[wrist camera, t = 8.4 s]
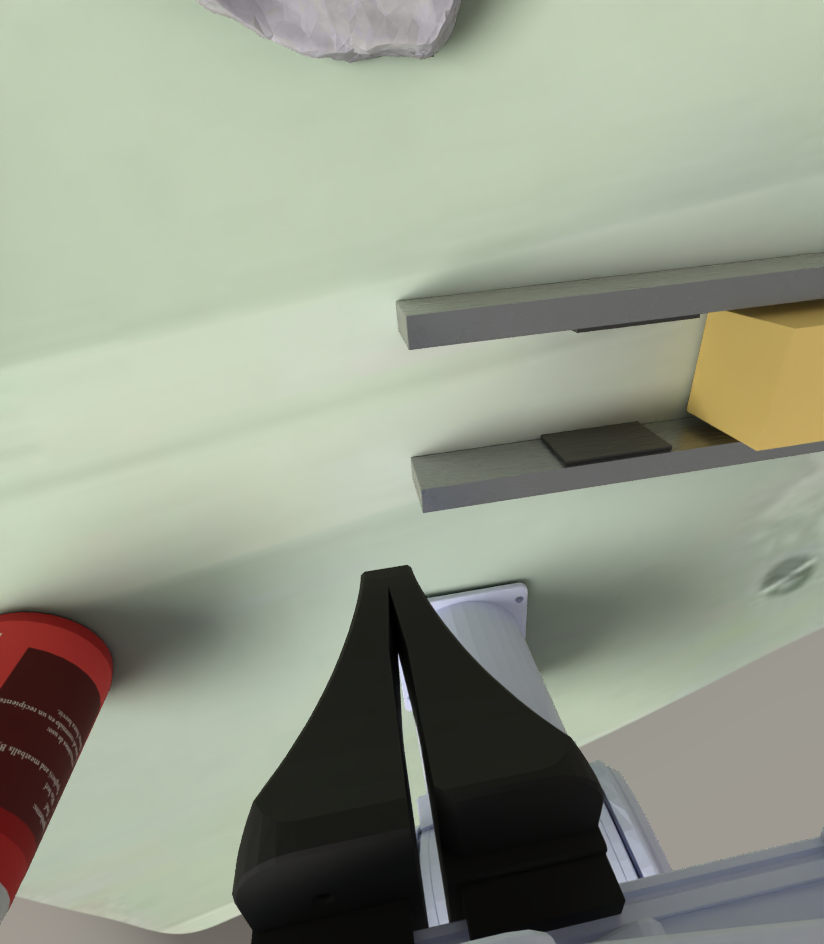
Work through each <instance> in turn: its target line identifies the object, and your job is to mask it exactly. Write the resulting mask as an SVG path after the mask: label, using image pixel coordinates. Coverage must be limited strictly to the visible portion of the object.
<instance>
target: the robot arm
mask: <svg viewBox="0 0 824 944" xmlns="http://www.w3.org/2000/svg"><path fill="white" fill-rule="evenodd" d="M519 596H520V597H519ZM517 597H519V598H517ZM527 598H528V590H527V587H526V585H525V584H524V583H513V584H508V585H502V586H496V587H490V588H484V589H478V590H473V591H467V592H461V593H455V594H449V595H443V596H438V597H432V598H427V597H426V596H425V594H424V592H423V591H422V589H421V587H420V586H419V584H418V582H417V580H416V578H415V576H414V574H413V571H412V569H411V567H409V566H408V565H404V566H397V567H391V568H385V569H379V570H373V571H367V572H364V573H363V574H362V575H361V583H360V590H359V595H358V600H357V604H356V608H355V612H354V615H353V619H352V622H351V625H350V629H349V632H348V635H347V638H346V640H345V643H344V646H343V648H342V651H341V654H340V656H339V659H338V661H337V664H336V666H335V668H334V671H333V673H332V675H331V677H330V680H329V682H328V684H327V686H326V688H325V690H324V692H323V694H322V696H321V698H320V700H319V702H318V703H317V705H316V707H315V709H314V711H313V713H312V715H311V716H310V718H309V720H308V722H307V723H306V725H305V727H304V728H303V730H302V732H301V733H300V735H299V736H298V738H297V739H296V741H295V743H294V744H293V746H292V747H291V749H290V751H289V752H288V754H287V755H286V757H285V758H284V760H283V761H282V763H281V764H280V766H279V767H278V768H277V770H276V771H275V772H274V774H273V775H272V777H271V778H270V779H269V781H268V782H267V783H266V785H265V786H264V787H263V789H262V790H261V792H260V793H259V794H258V796H257V797H256V798H255V800H254V801H253V804H252V807H251V810H250V813H249V816H248V819H247V822H246V825H245V828H244V832H243V835H242V839H241V844H240V847H239V851H238V857H237V863H236V870H235V877H234V884H233V892H232V896H233V899H234V902H235V904H236V906H237V907H238V909H239V910H240V912H241V913H242V915H243V916H244V918H245V920H246V921H247V923H248V924H249V926H250V927H251V929H252V930H253V932H252V942H251V944H824V827H823V829H822V831H821V836H819V837H815V838H811V839H806V840H802V841H798V842H794V843H789V844H785V845H781V846H776V847H772V848H768V849H764V850H760V851H755V852H751V853H747V854H742V855H738V856H734V857H730V858H725V859H721V860H717V861H713V862H708V863H704V864H699V865H695V866H691V867H687V868H682V869H678V870H674V871H672V869H671V867H670V865H669V863H668V860H667V858H666V856H665V854H664V852H663V850H662V848H661V846H660V844H659V842H658V840H657V838H656V836H655V834H654V832H653V830H652V828H651V826H650V824H649V822H648V820H647V818H646V816H645V814H644V812H643V810H642V808H641V807H640V805H639V803H638V801H637V799H636V797H635V796H634V794H633V792H632V790H631V789H630V787H629V785H628V784H627V782H626V780H625V779H624V777H623V776H622V775H621V773H620V772H619V771H617V770H615V769H613V768H611V767H610V766H606V765H605V763H604V762H603V761H601V760H597V761H594V762H591V763H588V761H587V760H586V758H585V757H584V755H583V754H582V752H581V751H580V749H579V748H578V747H577V745H576V743H575V742H574V741H573V740H572V738H571V737H570V736H568V735H567V732H566V730H565V728H564V726H563V724H562V721H561V719H560V717H559V715H558V712H557V710H556V708H555V706H554V704H553V701H552V699H551V697H550V695H549V692H548V690H547V688H546V686H545V684H544V681H543V679H542V677H541V675H540V672H539V670H538V668H537V666H536V663H535V661H534V659H533V657H532V655H531V652H530V650H529V648H528V646H527V643H526V641H525V637H526V618H527ZM399 670H400V676H401V683H402V690H403V697H404V704H405V709H406V710H408V711H413V715H414V719H415V724H416V730H417V736H418V742H419V748H420V755H421V761H422V767H423V773H424V779H425V785H426V791H427V794H425V795H423V796H421V797H419V798H417V806H418V813H419V821H420V825H419V826H416V827H415V825H414V817H413V810H412V803H411V796H410V788H409V781H408V774H407V767H406V759H405V752H404V743H403V732H402V715H401V696H400V677H399Z"/></svg>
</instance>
